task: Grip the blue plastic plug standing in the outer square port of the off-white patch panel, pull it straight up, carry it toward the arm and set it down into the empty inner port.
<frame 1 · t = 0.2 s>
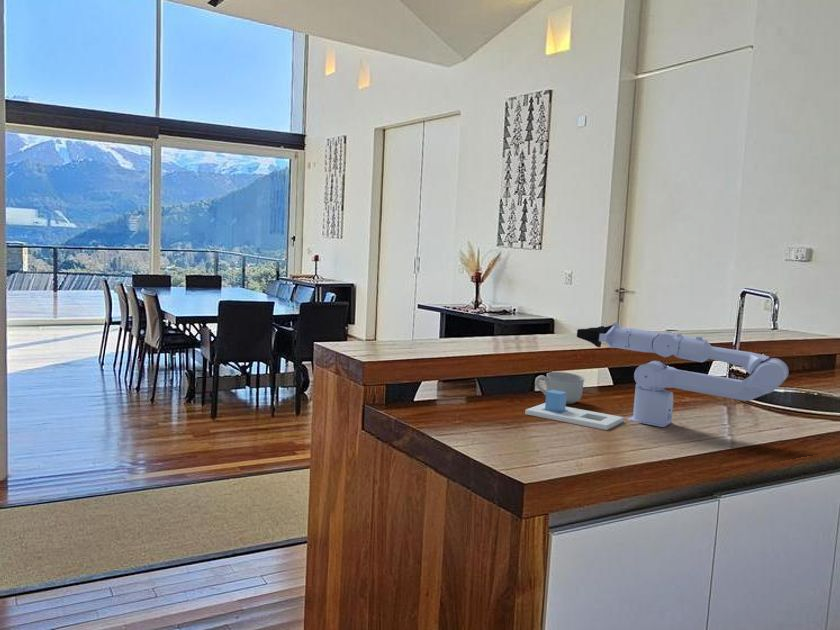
hand: (582, 332, 195), 21 cm above the countertop, tool horizontal, fingers open, 7 cm apart
plug: (554, 414, 188), resting on panel
panel: (573, 419, 185), on the countertop
teacup: (557, 402, 205), on the countertop
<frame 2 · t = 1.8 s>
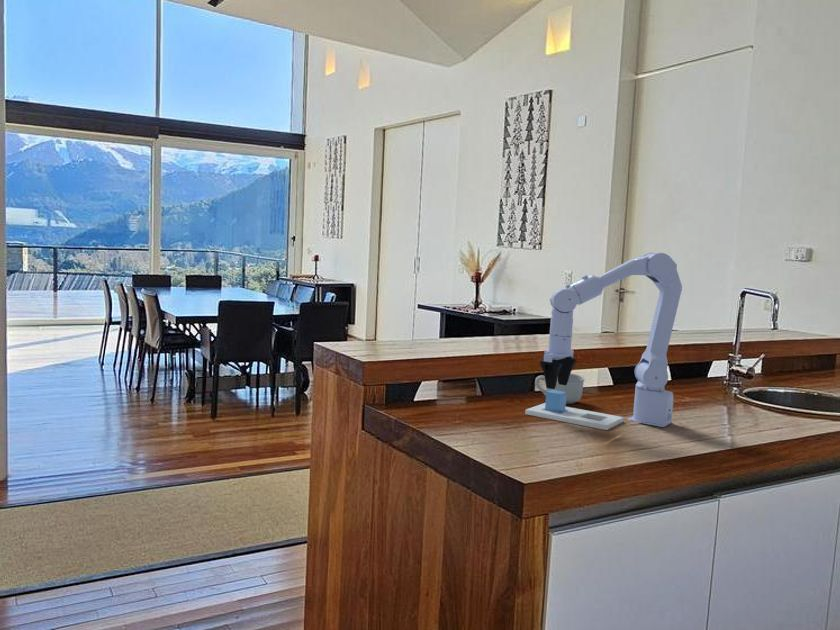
hand: (556, 386, 187), 8 cm above the countertop, tool pointing down, fingers open, 7 cm apart
nothing on the countertop moved.
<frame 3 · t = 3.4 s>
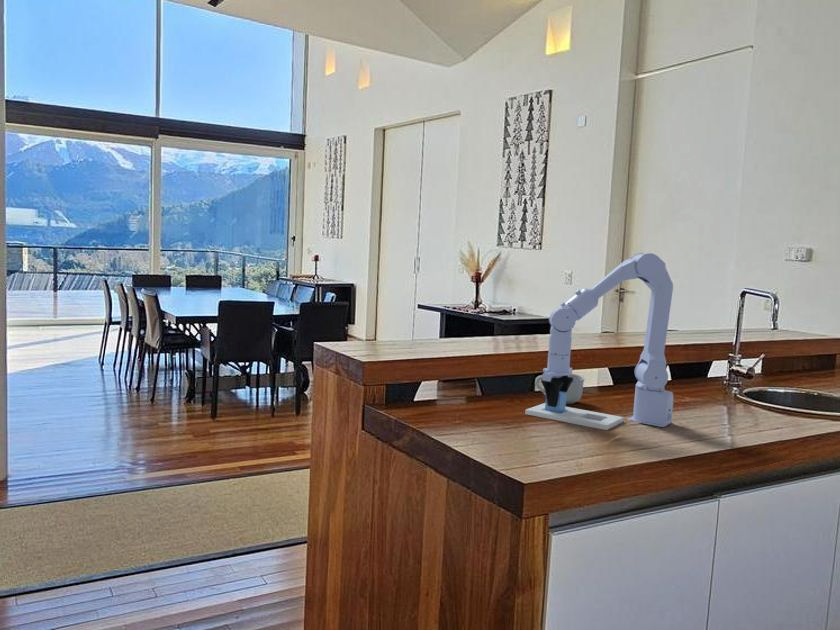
hand: (555, 404, 187), 3 cm above the countertop, tool pointing down, fingers closed on plug, 4 cm apart
plug: (554, 414, 188), resting on panel, touching gripper
everything else where it was.
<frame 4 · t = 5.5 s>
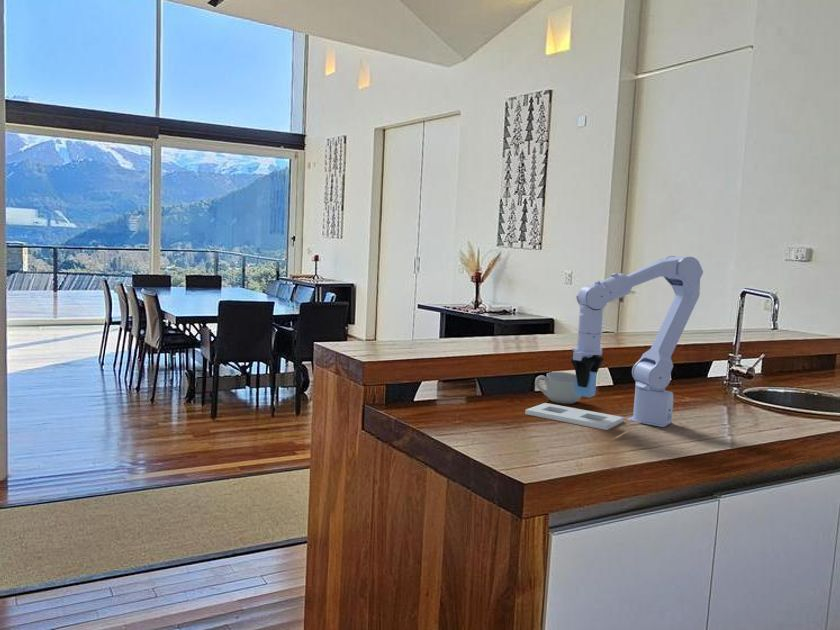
hand: (585, 385, 182), 9 cm above the countertop, tool pointing down, fingers closed on plug, 4 cm apart
plug: (584, 395, 183), point 7 cm above the countertop, touching gripper
everything else where it was.
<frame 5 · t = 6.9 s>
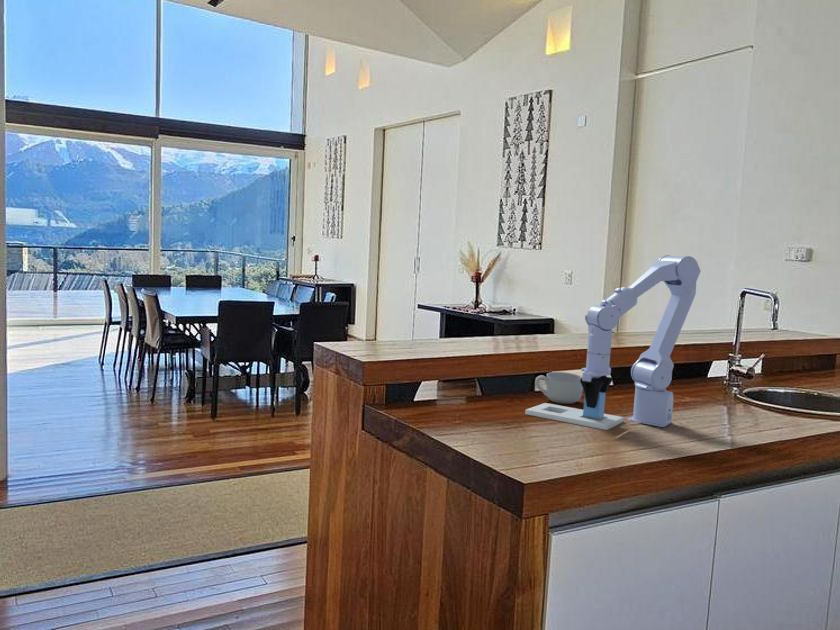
hand: (594, 405, 181), 4 cm above the countertop, tool pointing down, fingers closed on plug, 4 cm apart
plug: (593, 415, 181), point 2 cm above the countertop, touching gripper
everything else where it was.
when the fingers open (3 cm above the countertop, at t = 8.1 s): plug stays where it is, resting on panel.
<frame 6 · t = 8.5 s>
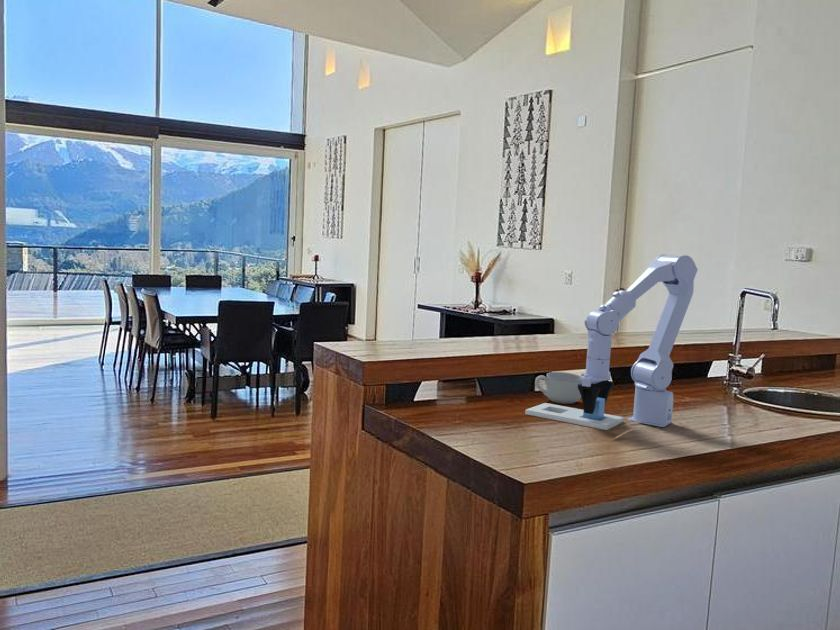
hand: (594, 410, 181), 3 cm above the countertop, tool pointing down, fingers open, 7 cm apart
plug: (593, 421, 182), resting on panel
everything else where it was.
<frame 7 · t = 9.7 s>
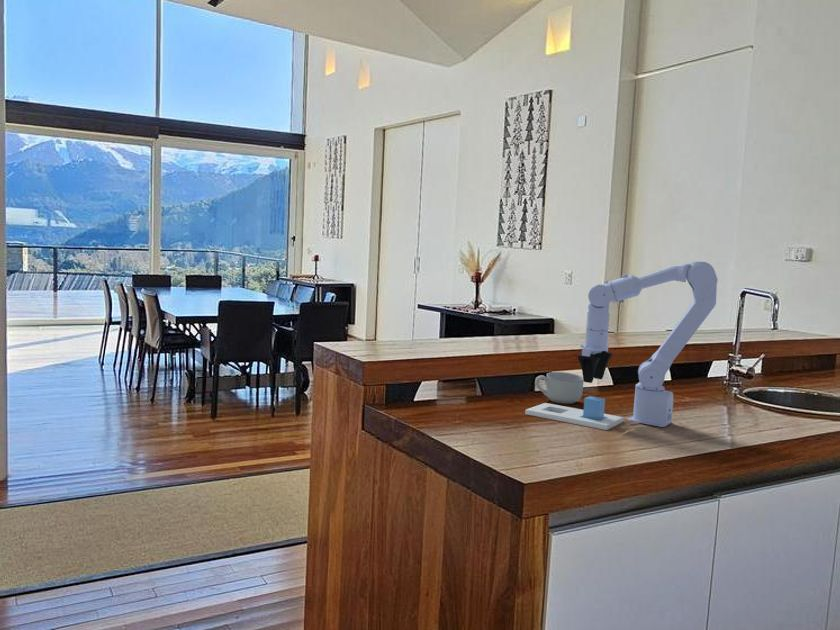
hand: (593, 380, 190), 9 cm above the countertop, tool pointing down, fingers open, 7 cm apart
nothing on the countertop moved.
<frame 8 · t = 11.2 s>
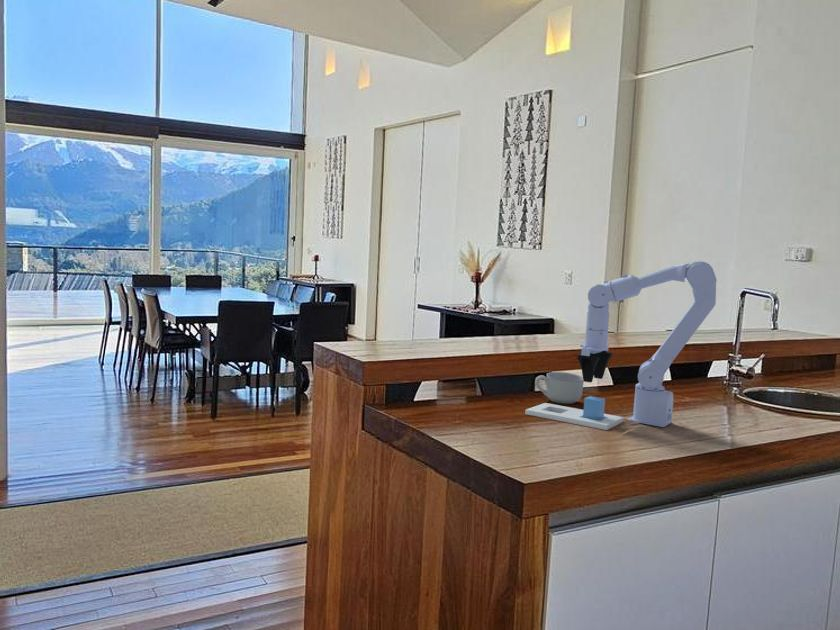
hand: (593, 380, 191), 9 cm above the countertop, tool pointing down, fingers open, 7 cm apart
nothing on the countertop moved.
at the end: plug 0.1 cm from the target spot on the panel, point 0.4 cm above the panel's base; plug tilted 0°; the gripper is holding nothing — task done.
